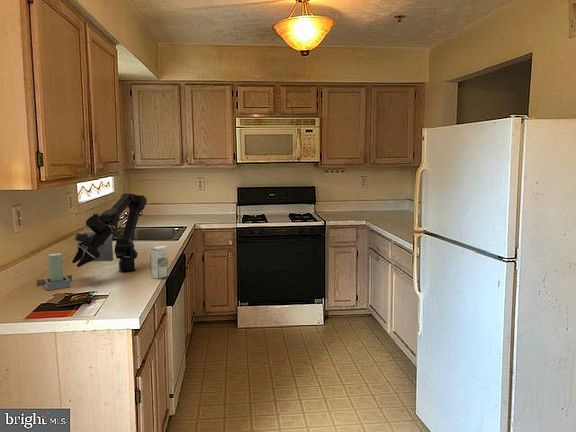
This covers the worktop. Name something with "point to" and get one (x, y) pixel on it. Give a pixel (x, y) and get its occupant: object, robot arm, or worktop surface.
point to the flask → (104, 248)
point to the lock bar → (55, 267)
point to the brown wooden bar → (41, 281)
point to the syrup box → (159, 261)
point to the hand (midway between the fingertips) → (75, 264)
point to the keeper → (57, 283)
